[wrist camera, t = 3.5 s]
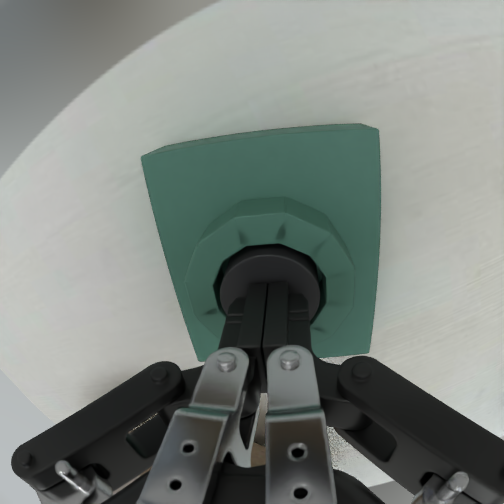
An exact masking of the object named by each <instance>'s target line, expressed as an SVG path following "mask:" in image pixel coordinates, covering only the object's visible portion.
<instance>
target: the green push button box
mask: <svg viewBox="0 0 504 504" xmlns="http://www.w3.org/2000/svg"><path fill="white" fill-rule="evenodd" d="M141 162H142V166H143V171H144V175H145V180H146V184H147V188H148V193H149V197H150V201H151V205H152V209H153V213H154V217H155V221H156V225H157V229H158V233H159V236H160V240H161V244H162V247H163V251H164V255H165V258H166V262H167V265H168V269H169V272H170V275H171V279H172V282H173V285H174V289H175V292H176V295H177V298H178V302H179V305H180V308H181V311H182V314H183V317H184V320H185V323H186V326H187V329H188V332H189V335H190V338H191V341H192V344H193V347H194V350H195V353H196V355H197V358H198V361H200V362H205V361H206V359H207V358H208V356H209V355H210V354H211V353H213V352H214V351H216V350H218V347H219V343H220V339H221V335H222V331H223V328H224V324H225V320H226V317H227V314H226V313H225V311H224V309H223V307H222V304H221V300H220V288H221V284H222V281H223V277H224V274H225V271H226V268H227V265H228V262H229V259H230V257H231V256H232V255H234V254H235V253H237V252H238V251H240V250H241V249H243V248H244V247H246V246H251V245H263V244H276V243H281V244H283V245H285V246H288V247H290V248H292V249H295V250H297V251H300V252H302V253H304V254H307V255H309V256H310V257H311V258H312V260H313V261H314V262H315V264H316V269H317V276H318V282H319V288H320V303H319V307H318V309H317V312H316V313H315V315H314V317H313V318H312V319H311V320H310V332H311V346H312V351H313V353H314V354H315V355H316V356H317V357H318V358H326V357H338V356H348V355H357V354H366V353H369V350H370V343H371V336H372V328H373V320H374V311H375V302H376V291H377V279H378V266H379V249H380V222H381V168H380V142H379V130H378V129H377V128H373V127H370V126H367V125H364V124H335V125H318V126H304V127H292V128H281V129H271V130H262V131H254V132H246V133H238V134H231V135H224V136H218V137H212V138H205V139H200V140H194V141H188V142H183V143H178V144H172V145H167V146H164V147H161V148H159V149H157V150H154V151H152V152H150V153H148V154H145V155H143V156H141Z"/></svg>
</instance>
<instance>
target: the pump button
mask: <svg viewBox="0 0 504 504" xmlns="http://www.w3.org/2000/svg"><path fill="white" fill-rule="evenodd" d="M274 282H288V289H289V294H300V293H302V294H303V295H304V297H305V298H306V299H307V300H308V307H309V319H310V320H311V319H312V318H313V317H314V315H315V313H316V312H317V309H318V307H319V303H320V288H319V282H318V276H317V269H316V264H315V262H314V261H313V260H312V258H311V257H310V256H309V255H307V254H304V253H302V252H300V251H297V250H295V249H292V248H290V247H288V246H285V245H283V244H281V243H276V244H263V245H251V246H246V247H244V248H243V249H241V250H240V251H238V252H237V253H235V254H234V255H232V256H231V257H230V259H229V262H228V265H227V268H226V271H225V274H224V277H223V281H222V284H221V288H220V300H221V304H222V307H223V309H224V311H225V313H226V314H227V312H228V309H229V305H230V304H231V303H232V302H233V301H234V300H235V299H236V298H237V297H247V292H248V286H249V284H260V283H268V285H269V283H274Z"/></svg>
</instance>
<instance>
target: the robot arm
mask: <svg viewBox="0 0 504 504" xmlns="http://www.w3.org/2000/svg"><path fill="white" fill-rule="evenodd" d="M261 393H267V395H268V412H267V413H266V464H265V465H260V466H255V467H251V451H252V446H253V442H254V437H255V432H256V427H257V422H258V417H259V412H260V408H259V403H260V395H261ZM156 413H158V415H156V416H155V417H153V418H152V419H151V420H149V421H148V422H146V423H145V424H143V425H142V426H140V427H139V428H137V429H136V430H134V431H133V432H131V433H128V432H129V431H131V430H132V429H134V428H135V427H137V426H138V425H139V424H141V423H142V422H144V421H145V420H147V419H148V418H150V417H151V416H153V415H154V414H156ZM327 426H329V427H334V429H335V431H336V432H337V433H338V434H339V435H340V436H341V437H342V438H344V439H345V440H346V441H347V442H348V443H349V444H351V445H352V446H353V447H354V448H355V449H357V450H358V451H359V452H360V453H361V454H363V455H364V456H365V457H366V458H367V459H369V460H370V461H371V462H372V463H374V464H375V465H376V466H377V467H378V468H380V469H381V470H382V471H383V472H385V473H386V474H387V475H389V476H390V477H391V478H392V479H394V480H395V481H396V482H398V483H399V484H400V485H402V486H403V487H404V488H406V489H407V490H408V491H409V492H411V493H412V494H414V495H415V496H414V498H413V500H412V504H503V503H504V440H502V439H501V438H499V437H497V436H496V435H494V434H492V433H491V432H489V431H487V430H486V429H484V428H483V427H481V426H479V425H478V424H476V423H475V422H473V421H471V420H470V419H468V418H467V417H465V416H463V415H462V414H460V413H459V412H457V411H455V410H454V409H452V408H451V407H449V406H447V405H446V404H444V403H443V402H441V401H439V400H438V399H436V398H435V397H433V396H432V395H430V394H428V393H427V392H425V391H424V390H422V389H421V388H419V387H418V386H416V385H414V384H413V383H411V382H410V381H408V380H407V379H405V378H404V377H402V376H400V375H399V374H397V373H396V372H394V371H393V370H391V369H390V368H388V367H387V366H385V365H384V364H382V363H381V362H379V361H377V360H376V359H374V358H371V357H367V356H356V357H352V358H349V359H347V360H346V361H344V362H343V363H342V364H341V365H337V364H331V363H327V362H324V361H322V360H320V359H319V358H318V357H317V356H316V355H315V354H314V353H313V351H312V346H311V332H310V319H309V307H308V300H307V299H306V298H305V297H304V295H303V294H302V293H300V294H289V289H288V282H274V283H269V285H268V283H260V284H249V286H248V292H247V297H237V298H236V299H235V300H234V301H233V302H232V303H231V304H230V305H229V309H228V312H227V317H226V320H225V324H224V328H223V331H222V335H221V339H220V343H219V347H218V350H216V351H214V352H213V353H211V354H210V355H209V356H208V358H207V359H206V361H205V364H204V365H202V366H200V367H197V368H193V369H188V370H183V371H181V370H180V368H179V367H178V366H177V365H176V364H175V363H172V362H168V361H162V362H157V363H154V364H152V365H150V366H149V367H147V368H146V369H144V370H143V371H141V372H139V373H138V374H136V375H135V376H133V377H132V378H130V379H129V380H127V381H125V382H124V383H122V384H121V385H119V386H118V387H116V388H114V389H113V390H111V391H110V392H108V393H107V394H105V395H103V396H102V397H100V398H99V399H97V400H95V401H94V402H92V403H91V404H89V405H87V406H86V407H84V408H83V409H81V410H79V411H78V412H76V413H74V414H73V415H71V416H69V417H68V418H66V419H64V420H63V421H61V422H59V423H58V424H56V425H55V426H53V427H51V428H50V429H48V430H46V431H45V432H43V433H41V434H39V435H38V436H36V437H34V438H32V439H31V440H29V441H27V442H26V443H24V444H22V445H20V446H19V447H18V448H17V449H16V450H15V452H14V454H13V456H12V460H11V465H12V469H13V471H14V473H15V474H16V475H17V476H19V477H20V478H21V479H22V480H24V481H25V482H26V483H28V484H29V485H30V486H31V487H32V488H33V489H34V490H35V491H36V492H37V495H38V497H39V499H40V501H41V504H385V503H384V502H383V501H382V500H380V499H379V498H378V497H377V496H376V495H375V494H373V492H371V491H370V490H369V489H368V488H367V487H366V486H365V485H364V484H363V483H361V482H360V481H359V480H357V479H356V478H354V477H353V476H351V475H349V474H347V473H345V472H342V471H339V470H336V469H333V467H332V460H331V453H330V446H329V439H328V433H327ZM151 466H152V468H151V470H150V471H148V472H146V473H144V474H143V475H141V476H140V477H139V478H137V479H136V480H135V481H133V482H132V483H130V484H129V485H127V486H126V487H125V488H123V489H122V490H120V491H119V492H117V493H116V494H114V495H113V491H115V490H117V489H118V488H120V487H121V486H123V485H124V484H126V483H128V482H129V481H131V480H132V479H134V478H135V477H137V476H138V475H140V474H141V473H143V472H144V471H146V470H147V469H149V468H150V467H151Z"/></svg>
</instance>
